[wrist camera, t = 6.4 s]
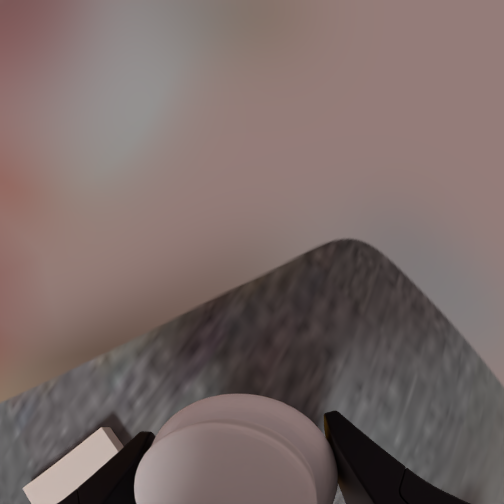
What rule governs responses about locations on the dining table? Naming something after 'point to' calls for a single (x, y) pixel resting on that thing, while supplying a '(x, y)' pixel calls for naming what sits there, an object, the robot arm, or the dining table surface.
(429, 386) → the dining table surface
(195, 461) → the supplement bottle
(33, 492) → the cream square tile
